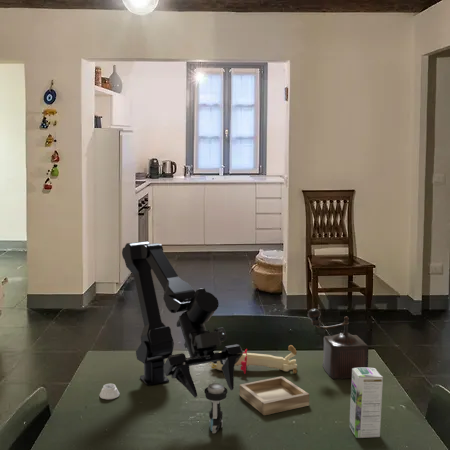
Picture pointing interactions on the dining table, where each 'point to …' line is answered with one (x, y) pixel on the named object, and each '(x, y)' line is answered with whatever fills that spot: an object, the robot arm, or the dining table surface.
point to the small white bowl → (109, 392)
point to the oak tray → (274, 395)
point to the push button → (215, 404)
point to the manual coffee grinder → (341, 349)
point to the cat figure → (264, 361)
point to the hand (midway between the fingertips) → (214, 393)
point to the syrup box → (366, 402)
